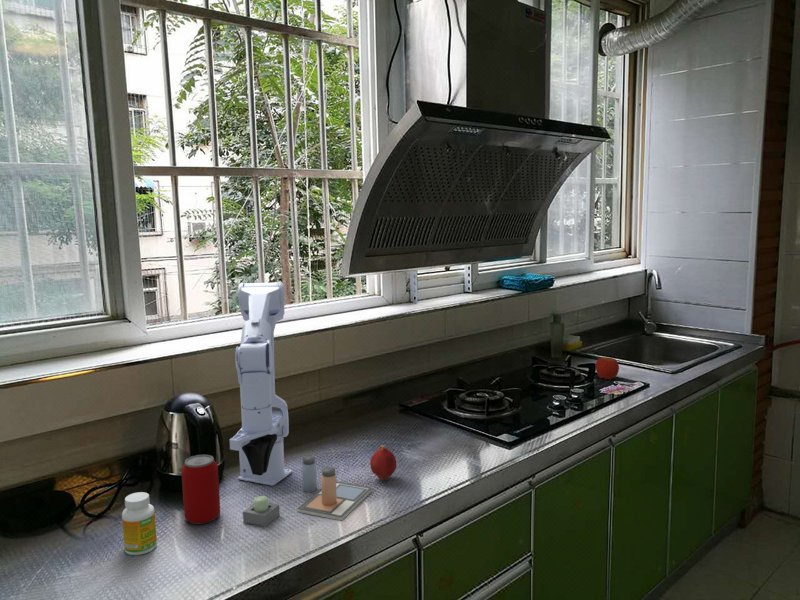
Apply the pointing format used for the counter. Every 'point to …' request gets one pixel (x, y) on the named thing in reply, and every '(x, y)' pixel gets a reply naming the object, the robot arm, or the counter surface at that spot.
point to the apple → (607, 367)
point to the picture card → (345, 503)
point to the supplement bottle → (139, 524)
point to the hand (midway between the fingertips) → (259, 472)
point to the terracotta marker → (328, 486)
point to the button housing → (261, 515)
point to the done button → (261, 504)
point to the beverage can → (200, 489)
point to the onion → (383, 463)
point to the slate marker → (309, 474)
